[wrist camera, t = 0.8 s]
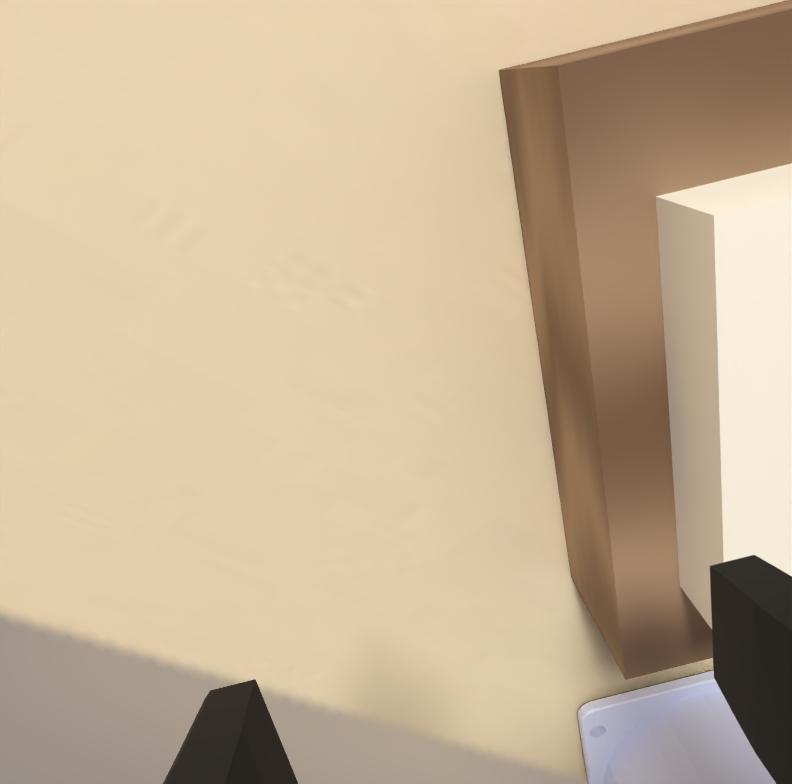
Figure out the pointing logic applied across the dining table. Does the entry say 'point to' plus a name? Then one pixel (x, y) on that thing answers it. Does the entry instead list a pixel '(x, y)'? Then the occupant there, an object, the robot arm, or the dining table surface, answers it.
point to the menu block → (729, 371)
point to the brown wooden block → (631, 284)
